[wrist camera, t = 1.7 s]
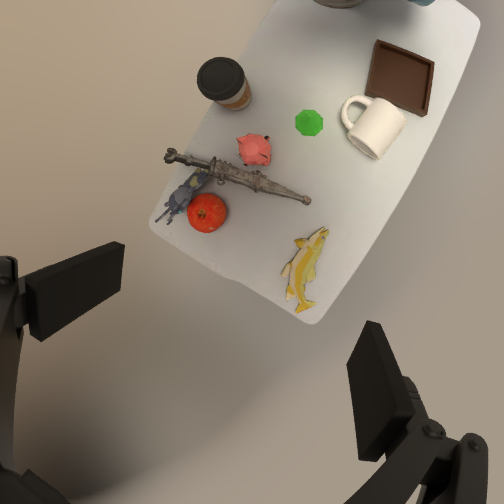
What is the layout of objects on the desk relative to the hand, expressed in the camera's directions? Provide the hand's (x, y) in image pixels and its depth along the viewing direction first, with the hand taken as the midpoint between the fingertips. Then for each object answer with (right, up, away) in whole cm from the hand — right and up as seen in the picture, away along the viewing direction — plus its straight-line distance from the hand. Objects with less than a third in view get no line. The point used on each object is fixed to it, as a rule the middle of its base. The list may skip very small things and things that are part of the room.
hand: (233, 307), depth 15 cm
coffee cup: (-2, +35, +44) cm, 56 cm away
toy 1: (-8, +20, +46) cm, 51 cm away
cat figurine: (+3, +23, +46) cm, 51 cm away
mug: (+24, +29, +41) cm, 55 cm away
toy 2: (+8, 0, +48) cm, 49 cm away
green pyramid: (+13, +29, +43) cm, 53 cm away
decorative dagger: (+13, +13, +46) cm, 49 cm away
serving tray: (+32, +40, +36) cm, 63 cm away
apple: (-8, +12, +50) cm, 52 cm away
